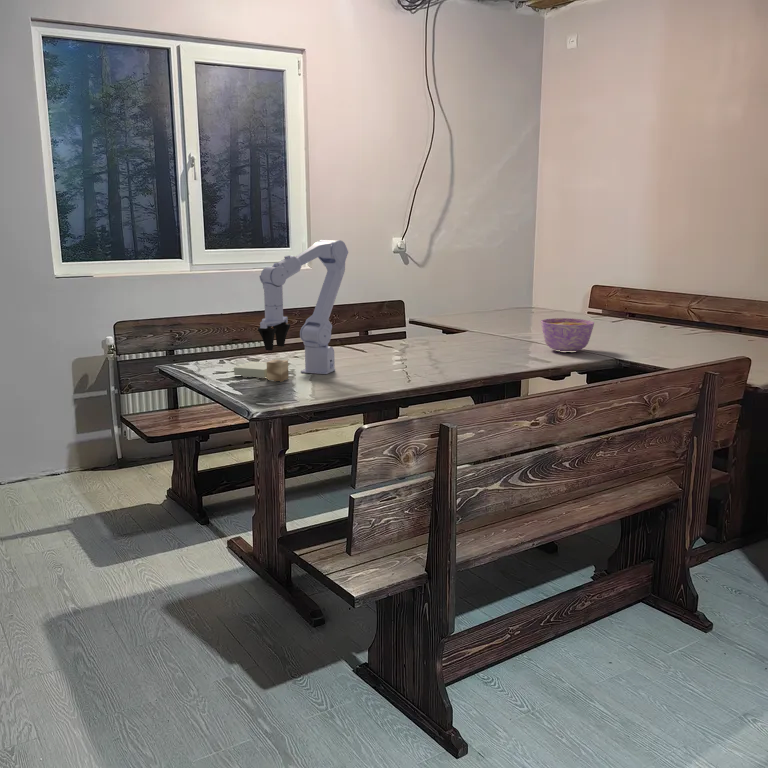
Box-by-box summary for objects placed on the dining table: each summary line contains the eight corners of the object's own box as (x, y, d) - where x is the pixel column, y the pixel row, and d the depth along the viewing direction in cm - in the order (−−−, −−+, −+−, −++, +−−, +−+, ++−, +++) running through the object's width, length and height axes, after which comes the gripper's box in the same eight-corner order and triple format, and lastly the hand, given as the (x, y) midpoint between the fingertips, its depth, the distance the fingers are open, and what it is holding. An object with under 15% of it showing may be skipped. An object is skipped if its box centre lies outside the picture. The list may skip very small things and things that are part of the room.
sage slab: (280, 372, 256) (280, 363, 255) (264, 378, 246) (264, 369, 245) (251, 370, 260) (250, 361, 259) (234, 376, 250) (234, 367, 249)
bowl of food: (588, 347, 305) (589, 318, 303) (596, 356, 286) (598, 325, 284) (537, 346, 307) (538, 317, 305) (542, 355, 288) (543, 324, 285)
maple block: (288, 378, 246) (288, 360, 245) (281, 382, 242) (280, 363, 240) (274, 377, 248) (274, 359, 247) (267, 380, 243) (266, 362, 242)
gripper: (273, 302, 249) (274, 344, 252) (250, 307, 236) (252, 351, 239) (293, 303, 247) (294, 345, 249) (271, 308, 233) (272, 352, 236)
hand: (275, 348), depth 244 cm, fingers open, 7 cm apart
